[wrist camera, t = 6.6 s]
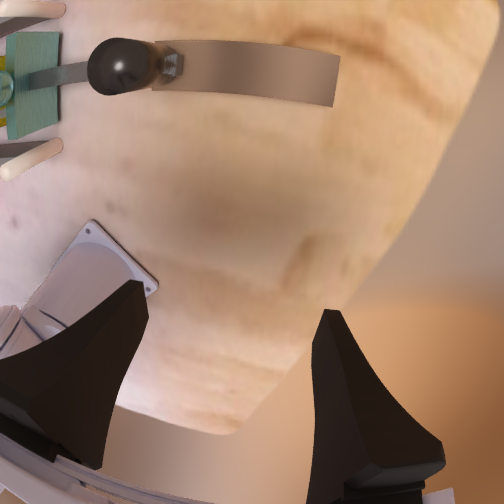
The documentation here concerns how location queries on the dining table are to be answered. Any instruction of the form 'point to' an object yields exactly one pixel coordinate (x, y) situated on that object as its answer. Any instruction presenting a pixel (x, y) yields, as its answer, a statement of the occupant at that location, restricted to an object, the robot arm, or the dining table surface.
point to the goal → (3, 22)
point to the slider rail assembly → (74, 75)
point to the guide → (255, 70)
